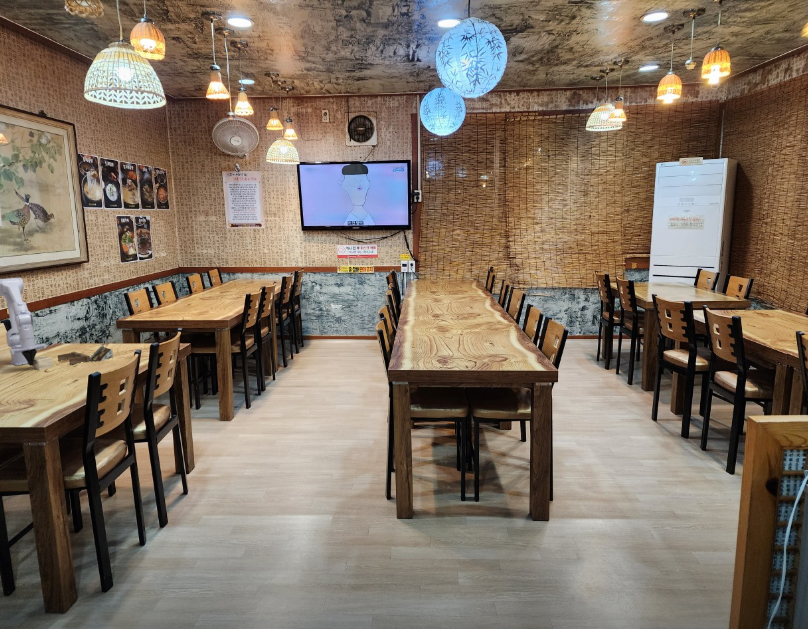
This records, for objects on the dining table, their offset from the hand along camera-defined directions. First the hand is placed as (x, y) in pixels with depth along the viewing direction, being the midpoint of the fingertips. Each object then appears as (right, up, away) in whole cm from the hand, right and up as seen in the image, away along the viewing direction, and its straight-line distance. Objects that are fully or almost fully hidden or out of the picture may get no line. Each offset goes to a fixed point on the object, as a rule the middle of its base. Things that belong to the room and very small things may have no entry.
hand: (31, 365), depth 254 cm
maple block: (+3, -2, +4) cm, 5 cm away
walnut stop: (+11, +1, +16) cm, 19 cm away
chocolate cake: (+25, +1, +19) cm, 31 cm away
